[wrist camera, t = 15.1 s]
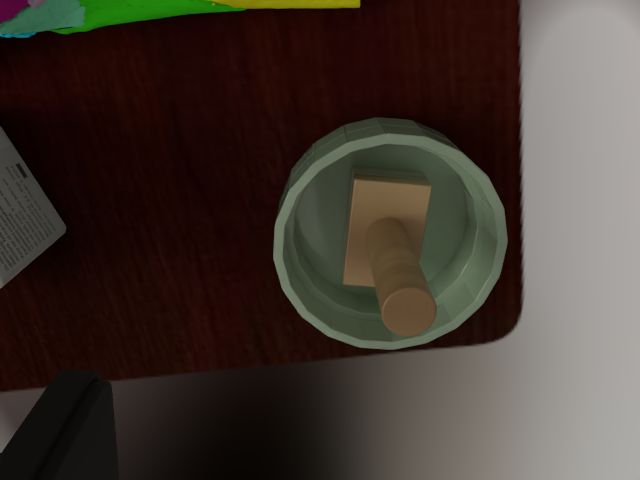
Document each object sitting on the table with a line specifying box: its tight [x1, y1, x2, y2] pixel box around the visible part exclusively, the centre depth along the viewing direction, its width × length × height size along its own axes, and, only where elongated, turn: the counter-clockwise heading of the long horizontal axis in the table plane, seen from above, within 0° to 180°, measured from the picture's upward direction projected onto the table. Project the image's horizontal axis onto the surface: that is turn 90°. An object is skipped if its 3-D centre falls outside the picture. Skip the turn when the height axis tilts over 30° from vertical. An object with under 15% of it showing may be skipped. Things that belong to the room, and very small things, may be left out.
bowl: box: [273, 117, 508, 350], centre depth 30 cm, size 12×12×5 cm
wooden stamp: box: [341, 166, 437, 336], centre depth 27 cm, size 6×4×11 cm, turn 175°
